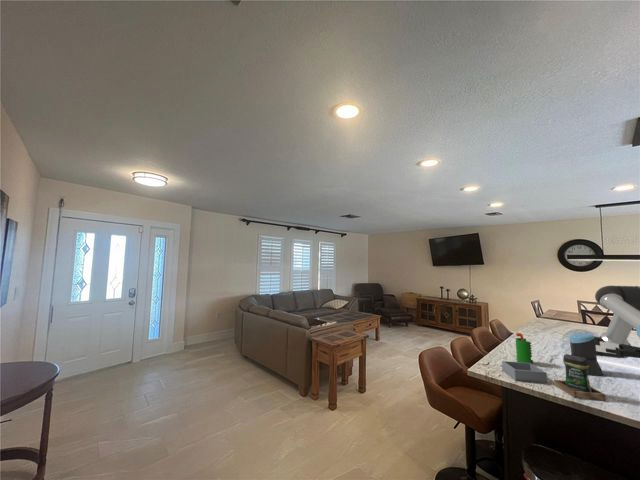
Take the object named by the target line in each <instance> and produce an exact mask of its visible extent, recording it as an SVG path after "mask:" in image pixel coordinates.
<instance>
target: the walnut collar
mask: <svg viewBox="0 0 640 480" xmlns="http://www.w3.org/2000/svg"><path fill="white" fill-rule="evenodd" d="M553 383H554V386H555V387H556V388H558V389H560V390H561V391H563V392H565V393H566V394H568V395H569V396H571V397H573V398H574V399H579V400H580V399H584V400H591V401H601V402H606V401H607V397H606V394H605V393H603V392H602V391H600V390H597V389H595V388H593V387H592V386H590V387H591V392H581V391H574V390H573V389H571V388H569V387H567V386H566V385H565V383H566V380H563V379H562V380H561V379H554V380H553Z"/></svg>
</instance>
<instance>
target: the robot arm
mask: <svg viewBox="0 0 640 480" xmlns="http://www.w3.org/2000/svg"><path fill="white" fill-rule="evenodd" d="M594 297H595V301H596V302H597V304H598V305H599V306H600V307H602V308H603V309H606V310H609V311H610V312H612V313H613V316H612V318H611V320H610V322H609V324H608V327H607V329H606V331H604V332H602V333H601V335H600V336H595V335H594V334H593V333H585V332H575V333H571V334H570V335H569V345H570V355H574V356H579V357H583V358H586V359H587V361H588V365H589V368H588V376H596V377H599V376H603V375H604V374H603V370H602V368H601V365H600V364H599V362H598V357H605V358H613V359H614V358H615V359H628V358H635V359H640V346H634V345H632V344H631V343H630V341H629V340H628V339H629V336H630V334H631V332H632V330H633V328H634V329H635V330H636V331H635V332H636V335H637V337H638V338H639V339H640V285H639V286H638V285H635V286H633V285H606V286H602V287H600V288H598V289H597V290H596V292H595V294H594Z"/></svg>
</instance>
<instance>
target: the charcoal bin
mask: <svg viewBox="0 0 640 480" xmlns="http://www.w3.org/2000/svg"><path fill="white" fill-rule="evenodd" d="M501 369H502V370H501V371H502V372H504V373H505V374H506V375H508V376H509V377H510V378H511V379H513V380H514V381H515V382H527V383H536V384H548V373H547V372H546V370H545V371H544V370H543V369H541V368H540V367H537V366H536V365H534V363H533V364H531V363H522V362H517V361H507V360H501Z"/></svg>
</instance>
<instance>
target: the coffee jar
mask: <svg viewBox="0 0 640 480" xmlns="http://www.w3.org/2000/svg"><path fill="white" fill-rule="evenodd" d="M562 362H563V364H564V368H565V381H566V383H565V385H566V386H567V387H569V388H571V389H573V390H574V391H581V392H591V387H592V386H591V384H590V380H589V375H588V368H589V365H588V361H587V359H586V358H583V357H579V356H574V355H571V354H564V355H563V360H562Z"/></svg>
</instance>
